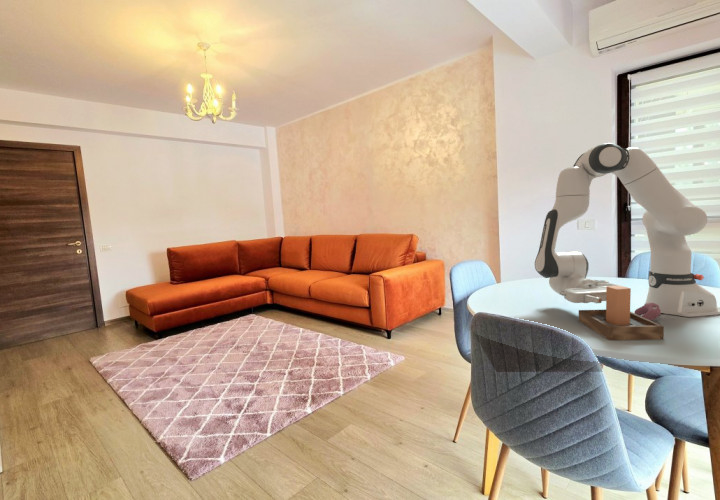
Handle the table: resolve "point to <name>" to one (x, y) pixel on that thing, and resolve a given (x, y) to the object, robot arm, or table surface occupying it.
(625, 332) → the box
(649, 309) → the video game controller
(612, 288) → the peg
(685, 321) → the table surface
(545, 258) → the robot arm
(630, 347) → the table surface
